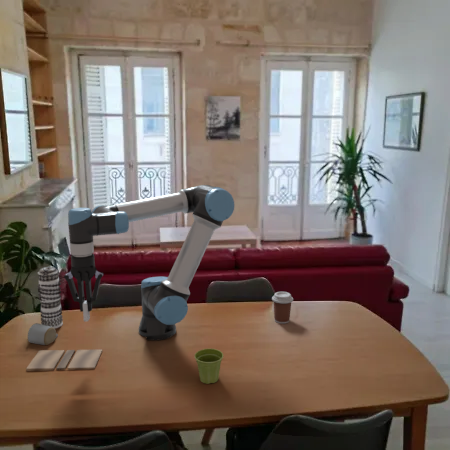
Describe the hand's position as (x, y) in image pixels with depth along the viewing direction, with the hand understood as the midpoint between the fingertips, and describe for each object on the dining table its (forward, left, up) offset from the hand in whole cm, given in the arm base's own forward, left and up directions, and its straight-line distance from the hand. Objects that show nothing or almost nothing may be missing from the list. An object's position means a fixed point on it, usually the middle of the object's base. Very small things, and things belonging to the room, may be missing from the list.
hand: (86, 319), depth 156 cm
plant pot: (-42, +14, -16) cm, 47 cm away
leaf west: (+1, 0, -16) cm, 16 cm away
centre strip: (+8, 0, -16) cm, 18 cm away
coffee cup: (-75, -32, -16) cm, 83 cm away
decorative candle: (+23, -33, -16) cm, 44 cm away
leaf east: (+15, 0, -16) cm, 22 cm away
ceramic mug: (+21, -17, -17) cm, 32 cm away
